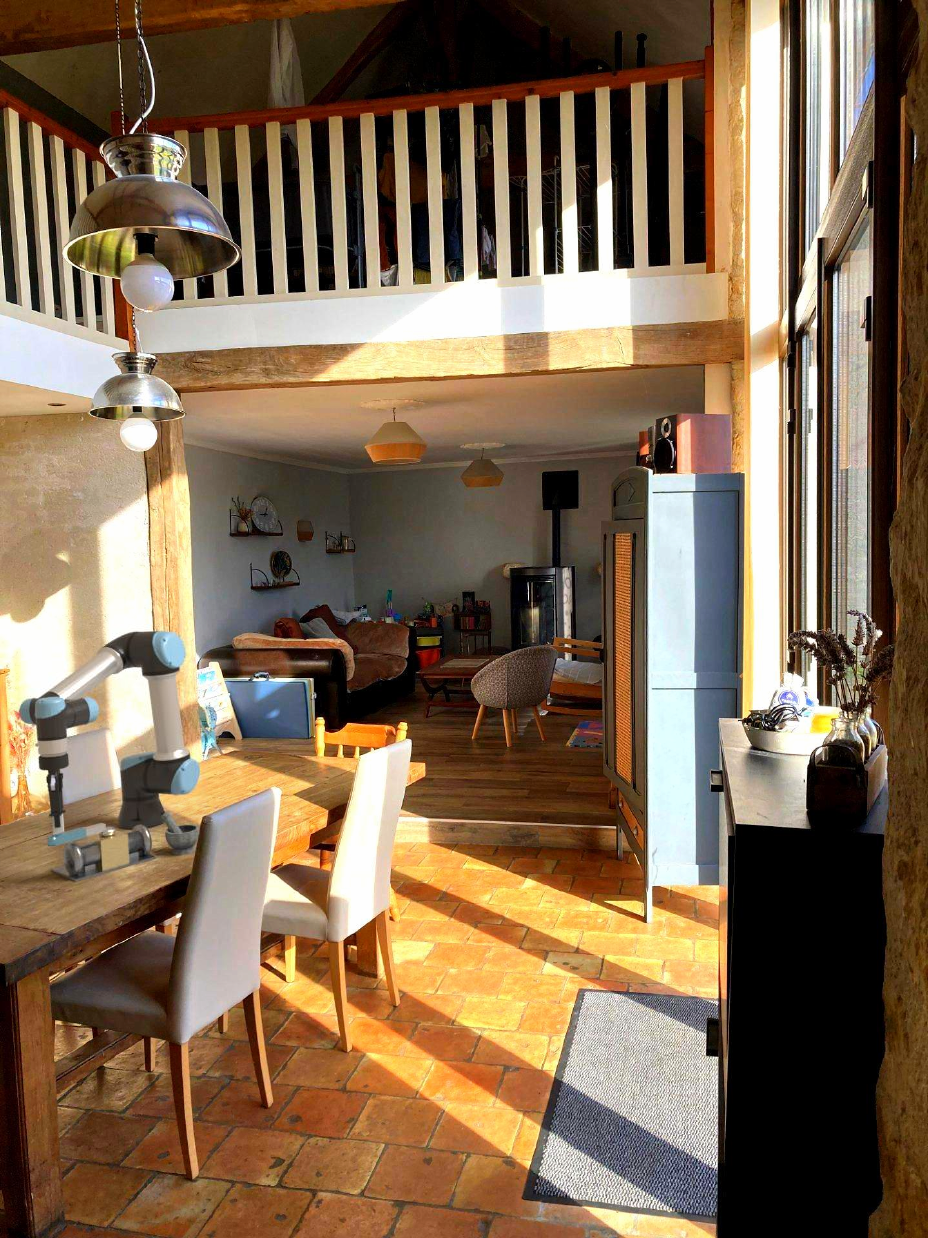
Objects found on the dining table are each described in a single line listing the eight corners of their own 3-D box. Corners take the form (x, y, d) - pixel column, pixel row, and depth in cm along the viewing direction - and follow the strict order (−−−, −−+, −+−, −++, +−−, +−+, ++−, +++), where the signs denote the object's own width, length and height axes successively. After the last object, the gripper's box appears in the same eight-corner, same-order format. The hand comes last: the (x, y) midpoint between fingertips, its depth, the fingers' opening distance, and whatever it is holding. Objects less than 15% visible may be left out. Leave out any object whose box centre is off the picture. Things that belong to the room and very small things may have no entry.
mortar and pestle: (205, 847, 279) (203, 808, 278) (191, 857, 270) (189, 817, 269) (171, 846, 281) (168, 807, 280) (156, 856, 272) (153, 816, 271)
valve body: (130, 849, 280) (128, 818, 279) (155, 858, 270) (154, 826, 269) (51, 870, 262) (48, 837, 261) (75, 881, 252) (73, 847, 251)
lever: (44, 849, 251) (43, 836, 251) (110, 831, 266) (109, 819, 266) (52, 852, 248) (51, 839, 248) (118, 833, 264) (117, 821, 263)
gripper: (41, 750, 259) (46, 833, 260) (35, 760, 246) (41, 846, 248) (70, 748, 261) (75, 829, 263) (65, 757, 249) (71, 843, 250)
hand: (58, 838), depth 255 cm, fingers closed
